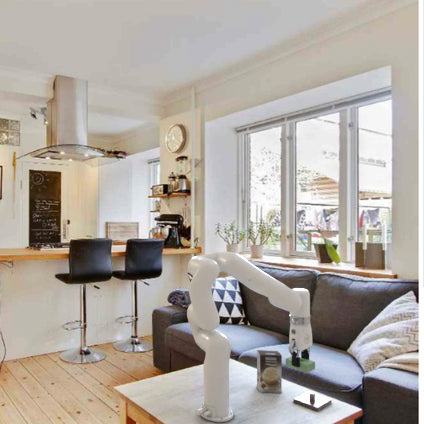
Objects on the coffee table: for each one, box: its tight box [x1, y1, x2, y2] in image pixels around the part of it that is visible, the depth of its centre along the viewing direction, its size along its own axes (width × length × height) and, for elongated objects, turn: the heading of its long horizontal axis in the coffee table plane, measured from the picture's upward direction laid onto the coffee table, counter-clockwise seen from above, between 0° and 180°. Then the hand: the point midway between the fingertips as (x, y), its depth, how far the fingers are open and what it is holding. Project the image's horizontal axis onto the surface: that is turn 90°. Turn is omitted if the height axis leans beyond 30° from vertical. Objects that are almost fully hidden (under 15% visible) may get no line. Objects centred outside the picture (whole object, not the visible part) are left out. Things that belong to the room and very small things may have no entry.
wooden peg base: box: [293, 391, 332, 412], centre depth 169 cm, size 11×10×4 cm
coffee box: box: [256, 349, 283, 394], centre depth 182 cm, size 9×6×16 cm
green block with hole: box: [285, 356, 316, 373], centre depth 169 cm, size 6×9×3 cm
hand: (300, 363), depth 169 cm, fingers closed on green block with hole, 6 cm apart
